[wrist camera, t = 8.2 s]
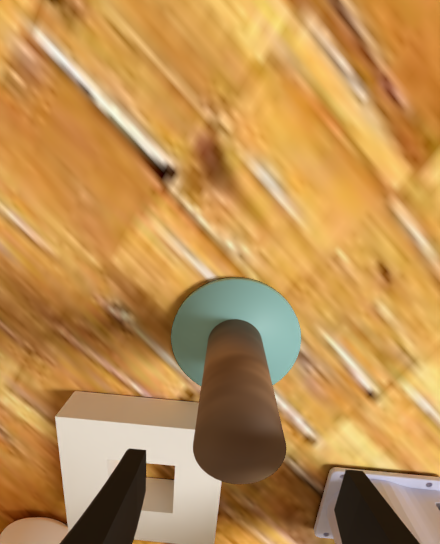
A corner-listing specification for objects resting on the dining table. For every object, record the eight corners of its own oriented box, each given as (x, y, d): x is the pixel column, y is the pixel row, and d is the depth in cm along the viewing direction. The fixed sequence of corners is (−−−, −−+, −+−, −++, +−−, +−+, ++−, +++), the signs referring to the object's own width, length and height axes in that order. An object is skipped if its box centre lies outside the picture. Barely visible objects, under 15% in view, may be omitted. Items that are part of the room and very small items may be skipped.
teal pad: (309, 283, 18) (312, 286, 17) (288, 394, 20) (289, 400, 20) (175, 271, 18) (173, 274, 17) (170, 383, 20) (169, 389, 20)
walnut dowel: (268, 324, 18) (297, 421, 10) (255, 371, 19) (273, 490, 11) (213, 314, 18) (201, 404, 10) (203, 362, 19) (186, 475, 11)
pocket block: (227, 405, 21) (227, 432, 18) (215, 512, 24) (213, 547, 22) (74, 390, 21) (55, 416, 18) (84, 499, 24) (68, 533, 22)
